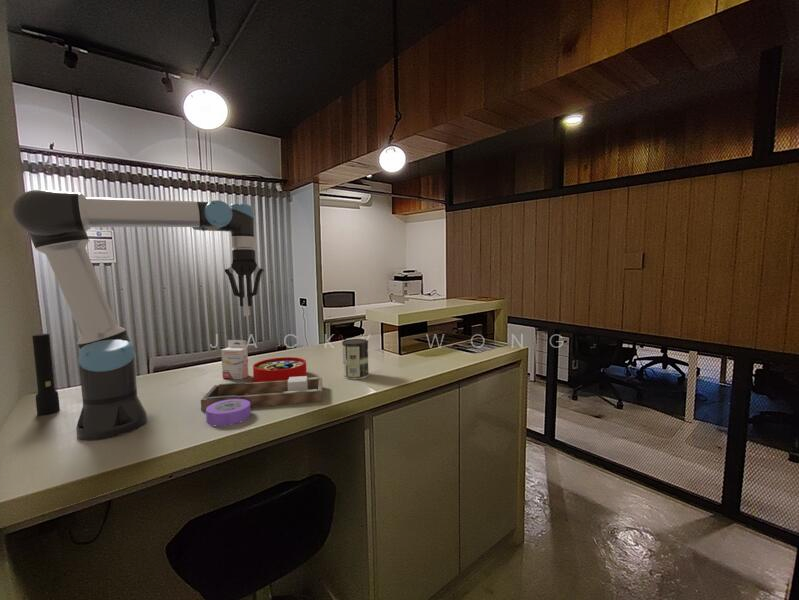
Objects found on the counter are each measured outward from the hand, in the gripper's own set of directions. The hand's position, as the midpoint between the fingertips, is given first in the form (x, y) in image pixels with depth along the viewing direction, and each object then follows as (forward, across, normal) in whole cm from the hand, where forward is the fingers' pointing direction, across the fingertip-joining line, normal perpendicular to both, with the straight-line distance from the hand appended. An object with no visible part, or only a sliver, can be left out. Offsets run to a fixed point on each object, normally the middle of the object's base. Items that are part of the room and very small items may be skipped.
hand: (246, 315), depth 131 cm
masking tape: (+27, 0, +28) cm, 38 cm away
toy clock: (+27, -10, -10) cm, 30 cm away
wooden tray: (+26, -8, +13) cm, 31 cm away
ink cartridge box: (+27, +8, -14) cm, 31 cm away
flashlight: (+27, +56, +11) cm, 63 cm away
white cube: (+27, -18, +14) cm, 35 cm away
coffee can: (+27, -39, -5) cm, 47 cm away
